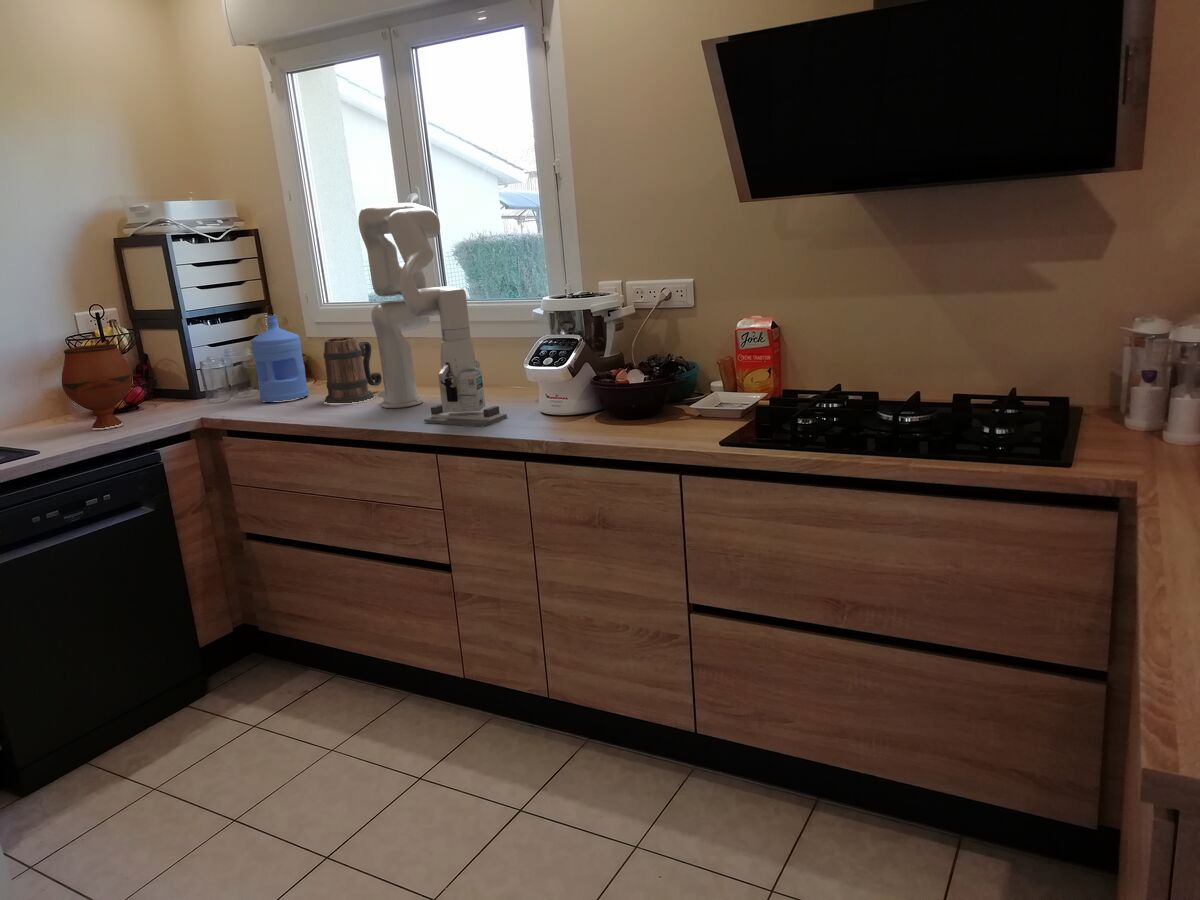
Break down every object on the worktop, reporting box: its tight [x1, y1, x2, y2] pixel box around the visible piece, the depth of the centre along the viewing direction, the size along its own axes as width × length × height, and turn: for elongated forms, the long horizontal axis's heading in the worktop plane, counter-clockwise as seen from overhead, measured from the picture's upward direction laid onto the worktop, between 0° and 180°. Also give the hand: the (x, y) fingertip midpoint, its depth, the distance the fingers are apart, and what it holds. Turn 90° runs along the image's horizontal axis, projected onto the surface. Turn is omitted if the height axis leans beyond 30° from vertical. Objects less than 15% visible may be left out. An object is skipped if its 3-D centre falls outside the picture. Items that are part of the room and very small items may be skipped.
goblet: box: [61, 343, 134, 429], centre depth 263 cm, size 19×19×25 cm
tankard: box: [323, 337, 383, 403], centre depth 283 cm, size 24×17×20 cm
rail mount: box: [424, 403, 508, 427], centre depth 238 cm, size 20×11×4 cm, turn 61°
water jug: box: [250, 315, 310, 402], centre depth 290 cm, size 16×16×28 cm
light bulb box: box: [438, 368, 486, 413], centre depth 237 cm, size 11×7×11 cm, turn 84°
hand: (463, 397), depth 237 cm, fingers closed on light bulb box, 8 cm apart
